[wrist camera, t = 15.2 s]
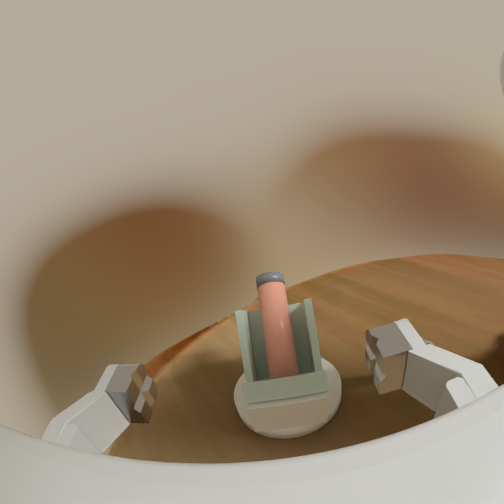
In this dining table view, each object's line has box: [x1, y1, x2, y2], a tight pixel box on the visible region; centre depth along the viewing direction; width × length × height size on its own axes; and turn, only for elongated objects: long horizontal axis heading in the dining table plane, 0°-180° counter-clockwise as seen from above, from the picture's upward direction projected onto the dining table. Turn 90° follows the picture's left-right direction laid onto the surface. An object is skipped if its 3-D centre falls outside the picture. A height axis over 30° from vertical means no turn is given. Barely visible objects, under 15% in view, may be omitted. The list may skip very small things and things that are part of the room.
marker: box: [256, 272, 299, 379], centre depth 32 cm, size 3×3×12 cm
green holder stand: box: [234, 298, 341, 439], centre depth 31 cm, size 13×13×12 cm
